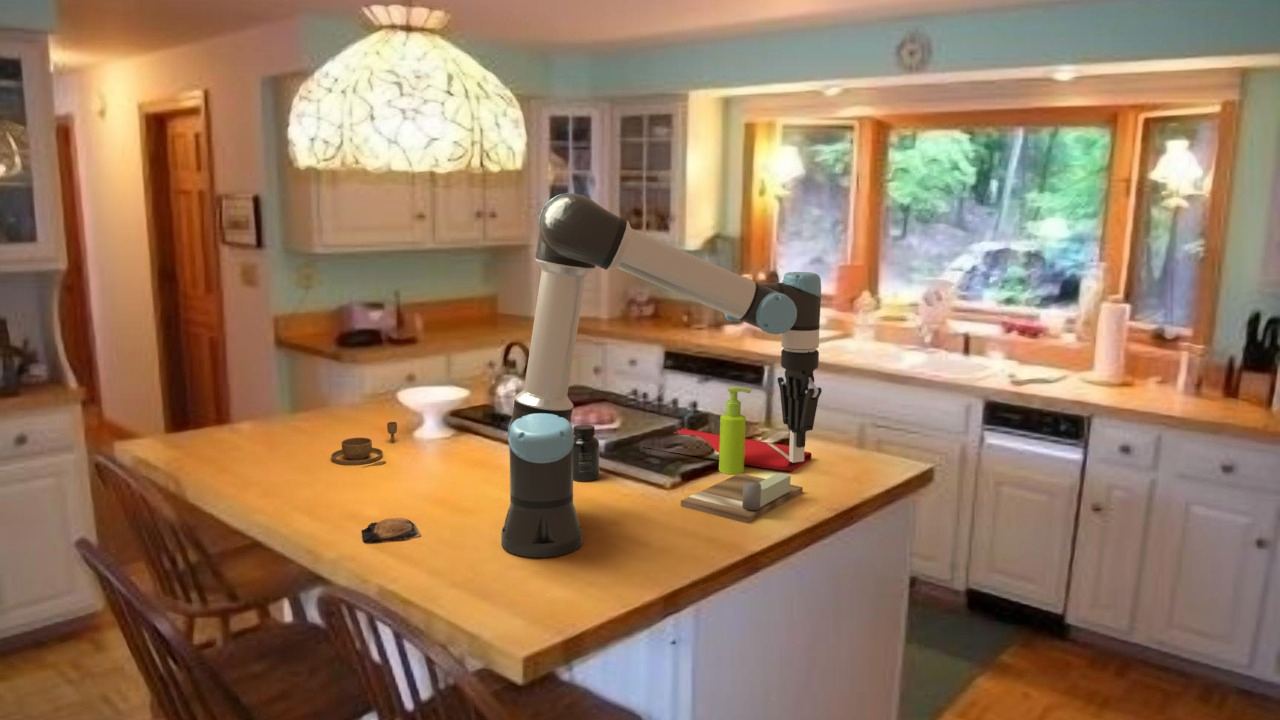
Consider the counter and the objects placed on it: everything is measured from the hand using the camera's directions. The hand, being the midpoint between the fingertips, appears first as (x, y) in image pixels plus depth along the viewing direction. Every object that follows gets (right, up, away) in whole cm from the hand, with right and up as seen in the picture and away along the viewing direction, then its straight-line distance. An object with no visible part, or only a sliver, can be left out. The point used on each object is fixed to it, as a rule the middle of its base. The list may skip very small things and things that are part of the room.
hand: (796, 460), depth 195 cm
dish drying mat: (-12, -3, +41) cm, 43 cm away
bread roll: (-80, -13, -15) cm, 83 cm away
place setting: (-98, -3, +35) cm, 104 cm away
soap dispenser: (-10, -5, +27) cm, 29 cm away
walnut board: (-10, -9, +7) cm, 15 cm away
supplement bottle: (-45, -6, +20) cm, 50 cm away
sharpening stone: (-6, -8, +2) cm, 11 cm away
